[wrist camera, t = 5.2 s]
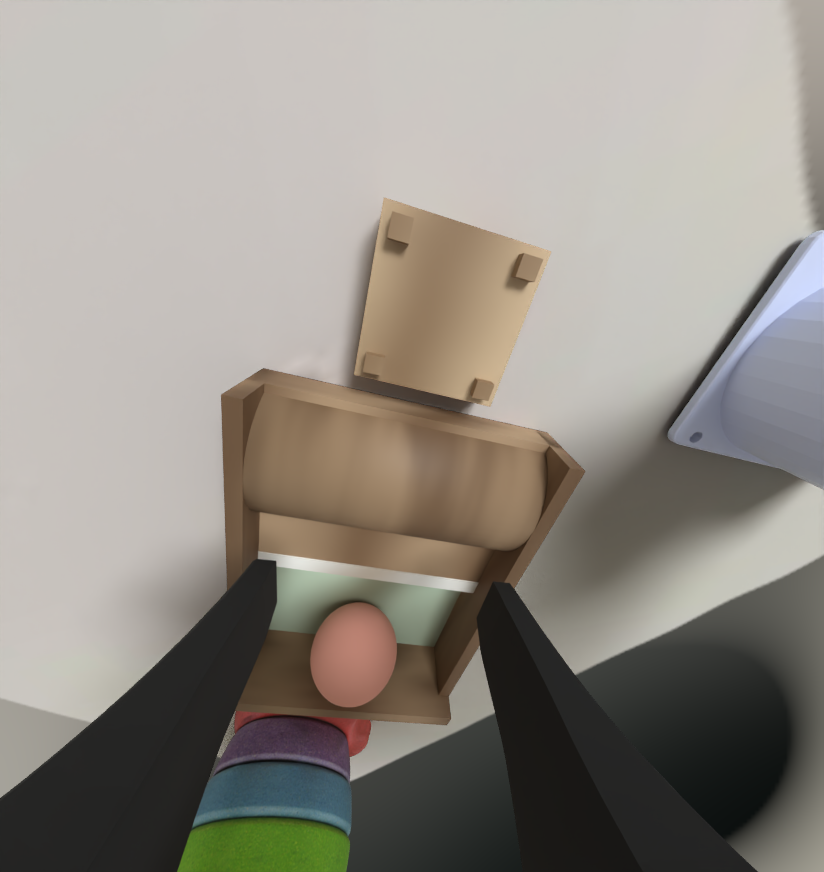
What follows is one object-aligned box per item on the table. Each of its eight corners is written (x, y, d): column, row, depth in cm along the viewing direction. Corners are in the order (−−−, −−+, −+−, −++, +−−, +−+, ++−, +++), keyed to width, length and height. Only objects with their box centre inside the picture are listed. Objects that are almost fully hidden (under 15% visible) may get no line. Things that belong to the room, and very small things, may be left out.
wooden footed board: (532, 255, 10) (558, 250, 8) (481, 393, 12) (493, 410, 11) (385, 208, 9) (383, 193, 8) (358, 364, 11) (352, 378, 10)
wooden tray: (522, 407, 16) (602, 488, 10) (434, 605, 23) (446, 725, 17) (288, 352, 14) (201, 407, 8) (272, 585, 21) (220, 709, 15)
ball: (381, 672, 18) (395, 594, 19) (395, 733, 14) (412, 629, 14) (305, 668, 17) (323, 586, 18) (294, 733, 13) (318, 621, 13)
